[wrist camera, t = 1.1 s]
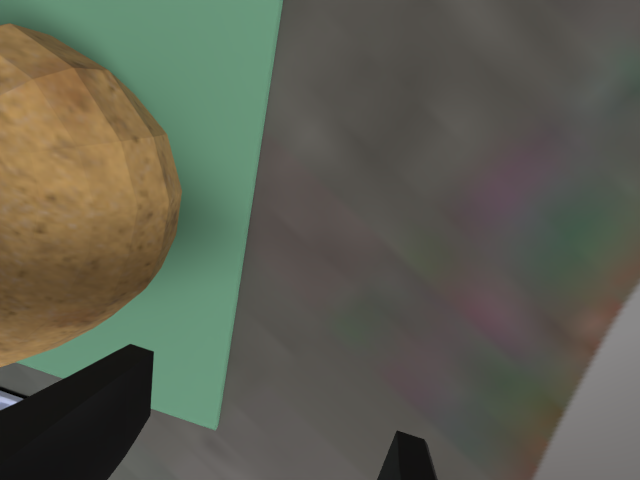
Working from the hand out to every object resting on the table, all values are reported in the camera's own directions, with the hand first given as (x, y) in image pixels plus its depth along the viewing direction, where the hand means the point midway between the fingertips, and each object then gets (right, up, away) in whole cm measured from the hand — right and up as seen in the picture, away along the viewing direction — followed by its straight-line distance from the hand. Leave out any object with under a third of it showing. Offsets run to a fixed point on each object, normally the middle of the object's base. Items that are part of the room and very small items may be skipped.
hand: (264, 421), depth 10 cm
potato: (-9, +6, +9) cm, 14 cm away
